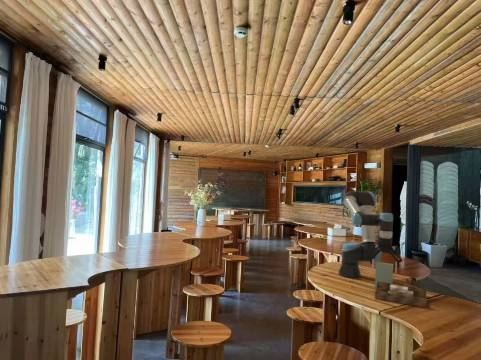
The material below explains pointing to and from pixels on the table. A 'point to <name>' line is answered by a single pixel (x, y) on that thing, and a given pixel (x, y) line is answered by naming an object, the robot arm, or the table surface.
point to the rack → (416, 300)
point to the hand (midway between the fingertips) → (384, 271)
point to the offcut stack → (400, 290)
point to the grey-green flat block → (383, 273)
